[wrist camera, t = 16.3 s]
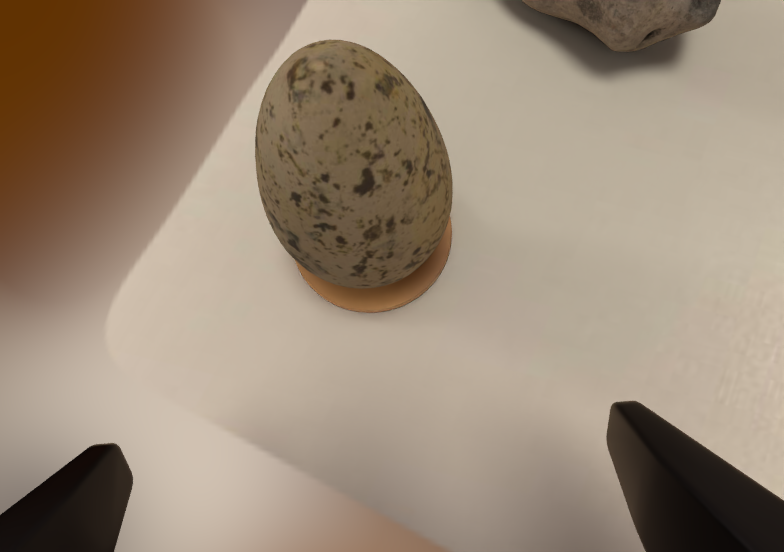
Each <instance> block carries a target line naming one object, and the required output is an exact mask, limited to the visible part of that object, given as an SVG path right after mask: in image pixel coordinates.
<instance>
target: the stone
mask: <svg viewBox="0 0 784 552" xmlns="http://www.w3.org/2000/svg"><path fill="white" fill-rule="evenodd" d="M522 1H523V2H524V3H525V4H527V5H528V6H530V7H531V8H533V9H535V10H537V11H539V12H542V13H545V14H548V15H551V16H554V17H558V18H561V19H564V20H568V21H571V22H574V23H577V24H579V25H581V26H582V27H584V28H585V29H587V30H588V31H590V32H592V33H593V34H595V35H596V36H597V37H598V38H599V39H600V40H601V41H602V42H603V43H605V44H606V45H607V46H608V47H609V48H610V49H611V50H613V51H618V52H620V51H623V52H631V51H637V50H641V49H644V48H646V47H648V46H650V45H652V44H655V43H657V42H659V41H662V40H665V39H668V38H670V37H673V36H676V35H678V34H681V33H684V32H687V31H691V30H694V29H697V28H700V27H702V26H704V25H706V24H707V23H709V22H710V21H711V20H712V19H713V17H714V16H715V14H716V12H717V9H718V7H719V4H720V2H721V0H522Z"/></svg>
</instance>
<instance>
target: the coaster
mask: <svg viewBox="0 0 784 552" xmlns="http://www.w3.org/2000/svg"><path fill="white" fill-rule="evenodd" d="M451 237H452V228H451V220H450V216H449V220H448V224H447V227H446V229H445V232H444V234H443V236H442V238H441V240H440V242H439V244H438V245H437V247H436V249H435V250H434V252H433V253H432V254H431V255H430V257H429V258H428V259H427V260H426V261H425V262H424V263H423V264H422V265H421V266H420V267H419V268H418V269H416V270H415V271H414V272H412V273H411V274H410V275H408V276H406V277H404V278H403V279H401V280H399V281H397V282H394V283H391V284H388V285H385V286H381V287H375V288H364V289H359V288H348V287H343V286H339V285H335V284H332V283H330V282H327V281H325V280H323V279H321V278H319V277H317V276H315V275H314V274H312V273H311V272H309V271H307V270H306V269H305V268H304V267H303V266H301V265H300V264H299V263H298V262H297V261H296V260H295V261H296V264H297V266H298V269H299V271H300V272H301V274H302V276H303V277H304V279H305V280H306V281H307V283H308V284H309V285H310V286H311V287H312V289H314V290H315V291H316V292H317V293H318V294H319V295H320V296H321V297H323V298H324V299H326V300H327V301H329V302H331V303H333V304H335V305H336V306H339V307H342V308H344V309H347V310H352V311H357V312H367V313H369V312H382V311H388V310H392V309H395V308H398V307H401V306H403V305H405V304H407V303H410V302H411V301H413V300H414V299H416V298H418V297H419V296H420V295H422V294H423V293H424V292H425V291H426V290H428V288H429V287H430V286H431V285H432V284H433V283H434V282H435V281H436V279H437V278H438V276H439V275H440V274H441V272H442V270H443V268H444V266H445V264H446V261H447V258H448V256H449V251H450V246H451Z"/></svg>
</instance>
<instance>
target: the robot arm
mask: <svg viewBox="0 0 784 552" xmlns="http://www.w3.org/2000/svg"><path fill="white" fill-rule="evenodd" d="M607 446H608V450H609V453H610V456H611V458H612V461H613V464H614V467H615V470H616V473H617V476H618V479H619V482H620V485H621V488H622V490H623V493H624V496H625V499H626V502H627V505H628V508H629V511H630V514H631V517H632V519H633V522H634V525H635V528H636V530H637V533H638V535H639V537H640V539H641V542H642V544H643V546H644V548H645V551H646V552H784V500H782V499H781V498H779V497H778V496H776V495H775V494H773V493H772V492H770V491H769V490H767V489H766V488H764V487H763V486H762V485H760V484H759V483H757V482H756V481H754V480H753V479H751V478H750V477H748V476H747V475H745V474H744V473H742V472H741V471H739V470H738V469H736V468H735V467H734V466H732V465H731V464H729V463H728V462H726V461H725V460H723V459H722V458H720V457H719V456H717V455H716V454H714V453H713V452H711V451H710V450H709V449H707V448H706V447H704V446H703V445H701V444H700V443H698V442H697V441H695V440H694V439H692V438H691V437H689V436H688V435H686V434H685V433H683V432H682V431H681V430H679V429H678V428H676V427H675V426H673V425H672V424H670V423H669V422H667V421H666V420H664V419H663V418H661V417H660V416H658V415H657V414H656V413H654V412H653V411H651V410H650V409H648V408H647V407H645V406H644V405H642V404H641V403H639V402H637V401H624V402H615V403H613V404H612V406H611V409H610V415H609V422H608V429H607ZM132 484H133V476H132V472H131V470H130V468H129V466H128V464H127V461H126V459H125V457H124V455H123V453H122V451H121V449H120V447H119V446H118V445H117V444H114V443H108V444H96V445H93V446H91V447H89V448H87V449H86V450H85V451H84V452H82V453H81V454H80V455H78V456H77V457H76V458H75V459H73V460H72V461H70V462H69V463H68V464H67V465H65V466H64V467H63V468H61V469H60V470H59V471H57V472H56V473H55V474H53V475H52V476H51V477H49V478H48V479H47V480H46V481H44V482H43V483H42V484H41V485H39V486H38V487H36V488H35V489H34V490H32V491H31V492H30V493H28V494H27V495H26V496H25V497H23V498H22V499H21V500H19V501H18V502H17V503H15V504H14V505H13V506H11V507H10V508H9V509H8V510H6V511H5V512H4V513H2V514H1V515H0V552H114V549H115V546H116V542H117V539H118V535H119V532H120V528H121V525H122V521H123V517H124V514H125V511H126V507H127V503H128V500H129V497H130V493H131V490H132Z"/></svg>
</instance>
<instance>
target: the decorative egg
mask: <svg viewBox="0 0 784 552" xmlns="http://www.w3.org/2000/svg"><path fill="white" fill-rule="evenodd" d="M255 158H256V171H257V180H258V186H259V192H260V196H261V200H262V203H263V206H264V209H265V212H266V215H267V218H268V220H269V222H270V225H271V227H272V229H273V231H274V233H275V234H276V236H277V238H278V239H279V241H280V242H281V244H282V245H283V246H284V248H285V249H286V250H287V252H288V253H289V254H290V255H291V256H292V257H293V258H294V259H295V260H296V261H297V262H298V263H299V264H300V265H301V266H303V267H304V268H305V269H306V270H307V271H309V272H311V273H312V274H314V275H315V276H317V277H319V278H321V279H323V280H325V281H327V282H330V283H332V284H335V285H339V286H343V287H348V288H359V289H364V288H375V287H381V286H385V285H388V284H391V283H394V282H397V281H399V280H401V279H403V278H404V277H406V276H408V275H410V274H411V273H412V272H414V271H415V270H416V269H418V268H419V267H420V266H421V265H422V264H423V263H424V262H425V261H426V260H427V259H428V258H429V257H430V255H431V254H432V253H433V252H434V250H435V249H436V247H437V245H438V244H439V242H440V240H441V238H442V236H443V234H444V232H445V229H446V227H447V224H448V220H449V216H450V212H451V206H452V174H451V167H450V162H449V157H448V153H447V149H446V147H445V144H444V141H443V138H442V135H441V133H440V131H439V128H438V126H437V124H436V122H435V120H434V118H433V116H432V114H431V112H430V111H429V109H428V107H427V106H426V104H425V102H424V101H423V99H422V97H421V96H420V95H419V93H418V92H417V91H416V89H415V88H414V87H413V86H412V84H411V83H410V82H409V81H408V79H407V78H406V77H405V76H404V75H403V74H402V73H401V72H400V71H399V70H398V69H397V68H395V67H394V66H393V65H392V64H391V63H390V62H388V61H387V60H386V59H384V58H383V57H382V56H380V55H379V54H377V53H375V52H374V51H372V50H370V49H368V48H366V47H364V46H361V45H359V44H356V43H353V42H348V41H342V40H324V41H319V42H315V43H312V44H309V45H307V46H305V47H303V48H301V49H299V50H298V51H296V52H295V53H293V54H292V55H291V56H290V57H289V58H288V59H287V60H286V61H285V62H284V63H283V64H282V65H281V67H280V68H279V69H278V71H277V72H276V74H275V75H274V77H273V78H272V80H271V82H270V84H269V86H268V88H267V90H266V92H265V95H264V98H263V101H262V104H261V108H260V112H259V116H258V120H257V127H256V140H255Z"/></svg>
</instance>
